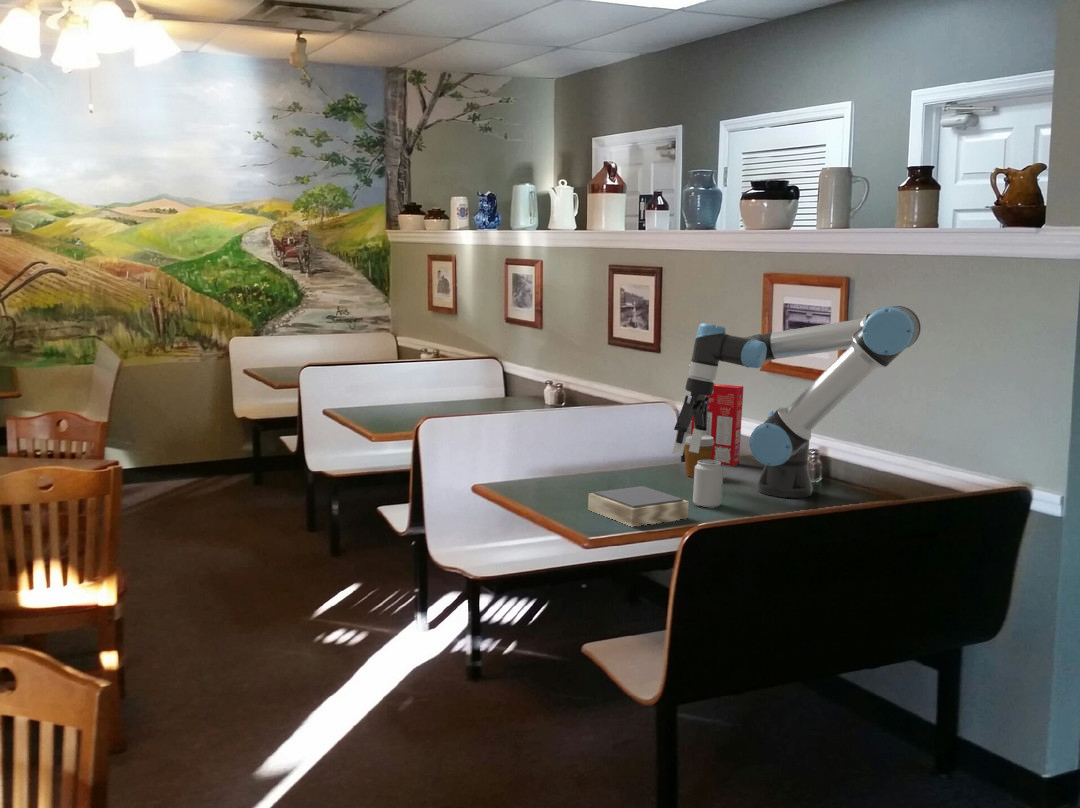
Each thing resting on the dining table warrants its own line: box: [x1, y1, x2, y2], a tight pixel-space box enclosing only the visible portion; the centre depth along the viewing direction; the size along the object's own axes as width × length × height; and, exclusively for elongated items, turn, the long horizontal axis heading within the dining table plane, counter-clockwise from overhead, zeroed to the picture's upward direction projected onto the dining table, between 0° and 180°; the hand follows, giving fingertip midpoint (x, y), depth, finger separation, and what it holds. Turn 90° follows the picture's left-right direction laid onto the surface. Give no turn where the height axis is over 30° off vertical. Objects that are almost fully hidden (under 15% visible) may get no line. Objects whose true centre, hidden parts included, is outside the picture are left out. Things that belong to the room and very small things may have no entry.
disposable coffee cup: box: [684, 433, 715, 478], centre depth 314 cm, size 10×10×12 cm
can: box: [692, 460, 724, 508], centre depth 278 cm, size 8×8×12 cm
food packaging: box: [690, 383, 745, 467], centre depth 336 cm, size 15×5×25 cm, turn 61°
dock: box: [587, 485, 690, 528], centre depth 266 cm, size 18×18×5 cm
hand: (685, 453), depth 293 cm, fingers open, 13 cm apart
